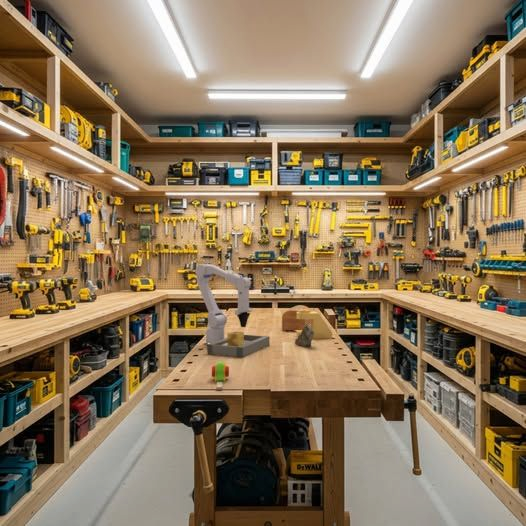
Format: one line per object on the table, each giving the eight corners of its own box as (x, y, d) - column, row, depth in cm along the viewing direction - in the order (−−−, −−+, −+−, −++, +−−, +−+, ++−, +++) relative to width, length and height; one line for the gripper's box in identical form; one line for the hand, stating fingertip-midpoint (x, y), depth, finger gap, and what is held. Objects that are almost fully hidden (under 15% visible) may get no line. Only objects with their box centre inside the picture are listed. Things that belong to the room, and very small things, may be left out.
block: (227, 345, 195) (227, 333, 195) (233, 343, 201) (233, 331, 201) (238, 346, 193) (238, 334, 193) (243, 344, 198) (243, 332, 198)
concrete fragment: (298, 341, 220) (298, 321, 220) (319, 348, 203) (319, 326, 203) (289, 342, 217) (289, 322, 217) (309, 349, 200) (310, 327, 200)
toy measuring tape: (229, 374, 155) (229, 358, 155) (228, 390, 136) (228, 371, 136) (212, 375, 155) (212, 358, 155) (209, 391, 135) (209, 372, 135)
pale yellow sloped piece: (297, 338, 229) (297, 310, 229) (295, 335, 239) (295, 309, 239) (332, 338, 231) (332, 310, 231) (328, 335, 240) (328, 308, 240)
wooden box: (289, 324, 285) (289, 304, 285) (312, 325, 281) (312, 305, 281) (279, 331, 256) (279, 309, 256) (305, 332, 252) (305, 310, 252)
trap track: (207, 353, 191) (207, 344, 191) (237, 342, 219) (237, 334, 219) (242, 357, 183) (242, 347, 183) (269, 345, 211) (269, 336, 211)
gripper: (243, 302, 198) (243, 329, 198) (256, 299, 211) (256, 325, 211) (231, 301, 201) (231, 328, 201) (244, 299, 214) (244, 324, 214)
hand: (243, 327), depth 206 cm, fingers closed
